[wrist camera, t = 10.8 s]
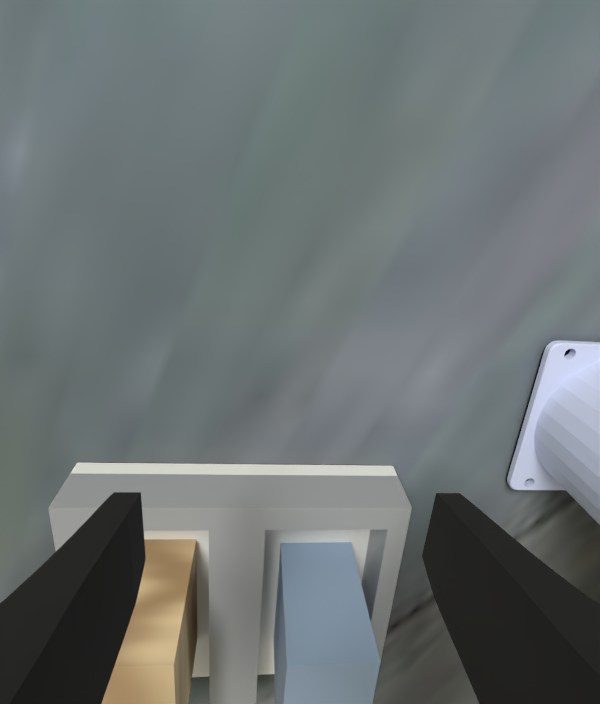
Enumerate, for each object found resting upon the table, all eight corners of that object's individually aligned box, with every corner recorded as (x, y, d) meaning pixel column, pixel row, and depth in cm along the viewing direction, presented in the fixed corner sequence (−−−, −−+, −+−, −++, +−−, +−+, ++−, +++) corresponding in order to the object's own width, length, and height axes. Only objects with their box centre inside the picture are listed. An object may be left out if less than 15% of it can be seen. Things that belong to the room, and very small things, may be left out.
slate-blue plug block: (350, 542, 22) (380, 662, 17) (337, 637, 25) (358, 769, 19) (280, 542, 22) (286, 665, 17) (273, 639, 25) (277, 774, 19)
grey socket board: (392, 466, 22) (411, 507, 19) (359, 657, 27) (370, 712, 24) (77, 462, 20) (48, 507, 18) (104, 666, 25) (85, 726, 23)
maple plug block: (196, 539, 22) (173, 664, 16) (197, 638, 24) (178, 776, 19) (120, 539, 21) (69, 667, 16) (129, 640, 24) (89, 782, 18)
